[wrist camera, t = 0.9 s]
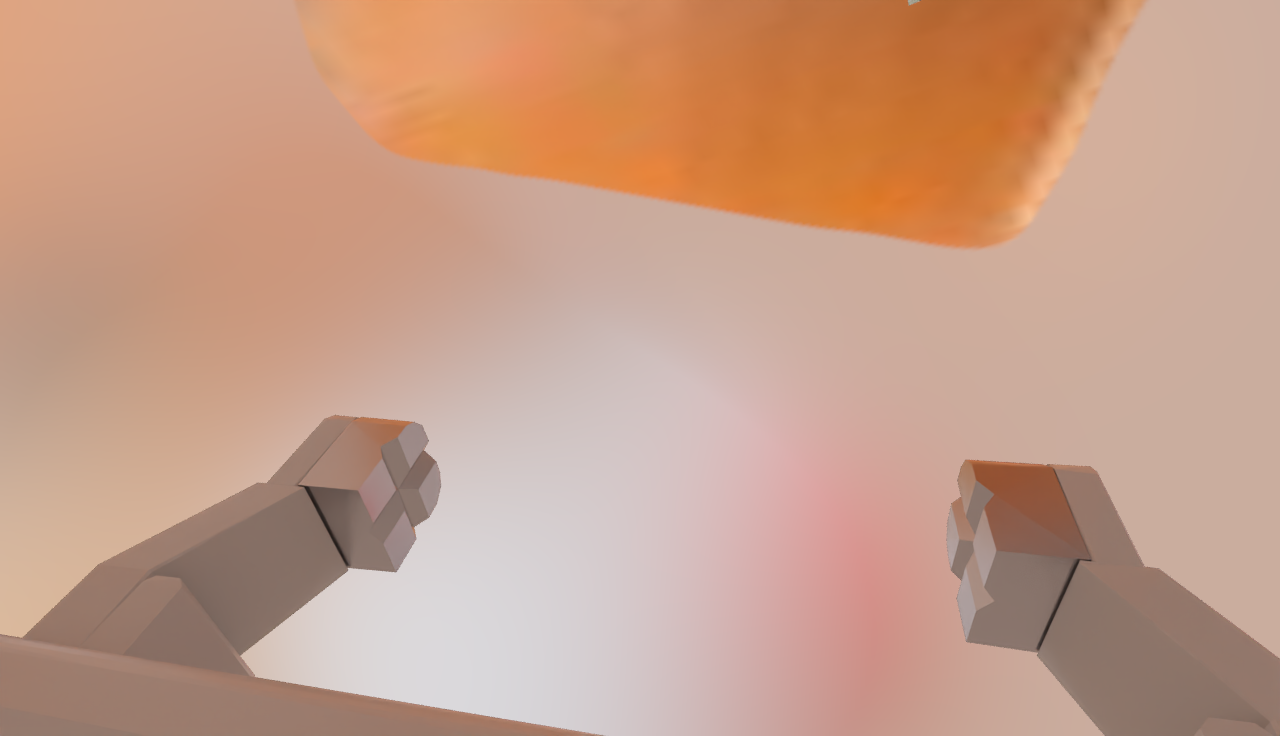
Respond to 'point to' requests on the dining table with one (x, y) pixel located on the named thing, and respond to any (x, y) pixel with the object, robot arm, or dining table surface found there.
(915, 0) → the sage cube
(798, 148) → the dining table surface
